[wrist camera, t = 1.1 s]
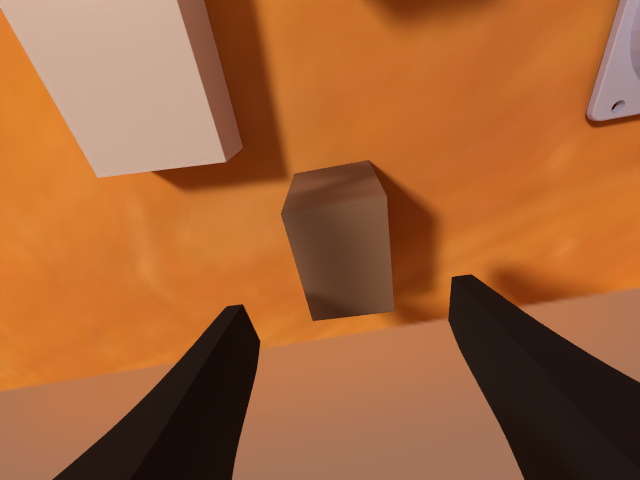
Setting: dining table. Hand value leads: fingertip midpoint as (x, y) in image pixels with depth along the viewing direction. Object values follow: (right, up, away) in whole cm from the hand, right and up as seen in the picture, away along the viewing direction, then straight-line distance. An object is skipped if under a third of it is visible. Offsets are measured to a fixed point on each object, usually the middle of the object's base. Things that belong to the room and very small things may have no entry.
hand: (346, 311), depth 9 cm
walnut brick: (0, +4, +6) cm, 8 cm away
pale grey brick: (-8, +11, +3) cm, 14 cm away
